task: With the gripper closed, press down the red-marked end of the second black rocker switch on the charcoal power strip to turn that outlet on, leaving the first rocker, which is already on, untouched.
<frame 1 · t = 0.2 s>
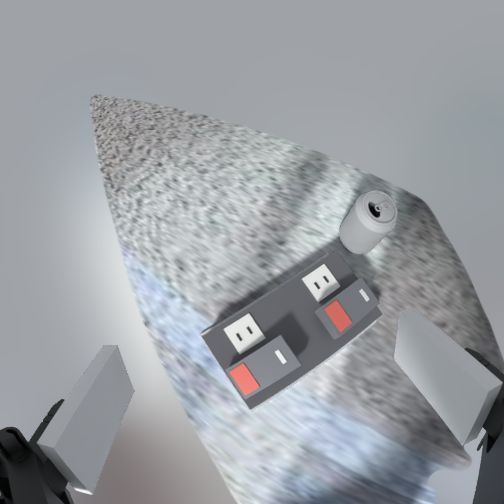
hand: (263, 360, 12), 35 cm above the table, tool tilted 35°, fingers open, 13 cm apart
rocker b: (348, 307, 41), point 7 cm above the table, hinge at -12.0°
rocker a: (263, 367, 38), point 7 cm above the table, hinge at 12.0°
power strip: (292, 330, 47), on the table
can: (355, 237, 53), on the table
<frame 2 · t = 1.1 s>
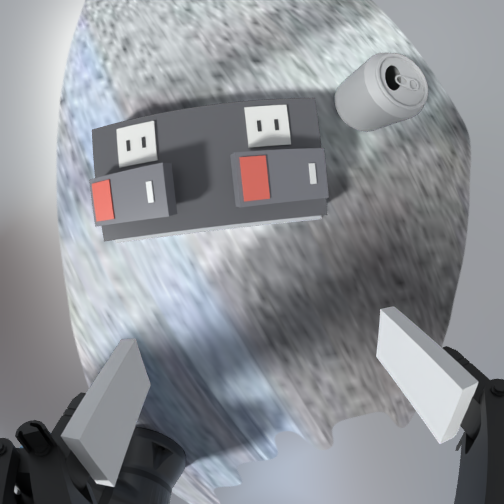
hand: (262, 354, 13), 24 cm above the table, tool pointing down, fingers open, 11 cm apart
rocker b: (281, 175, 28), point 7 cm above the table, hinge at -12.0°
rocker a: (130, 195, 27), point 7 cm above the table, hinge at 12.0°
power strip: (208, 168, 34), on the table
can: (358, 106, 33), on the table
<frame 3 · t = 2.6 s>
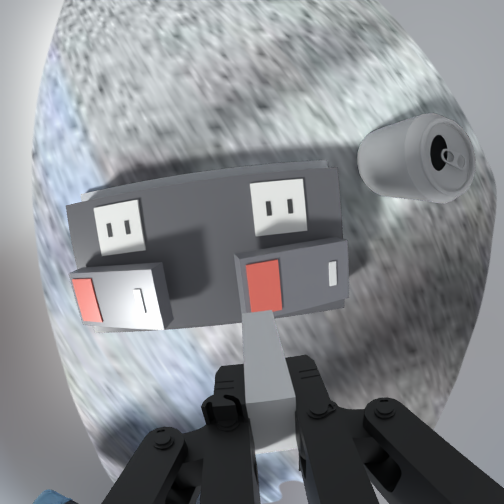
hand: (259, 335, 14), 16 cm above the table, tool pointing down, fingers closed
rocker b: (295, 277, 23), point 7 cm above the table, hinge at -12.0°
rocker a: (117, 296, 23), point 7 cm above the table, hinge at 12.0°
power strip: (206, 246, 30), on the table
can: (382, 163, 29), on the table
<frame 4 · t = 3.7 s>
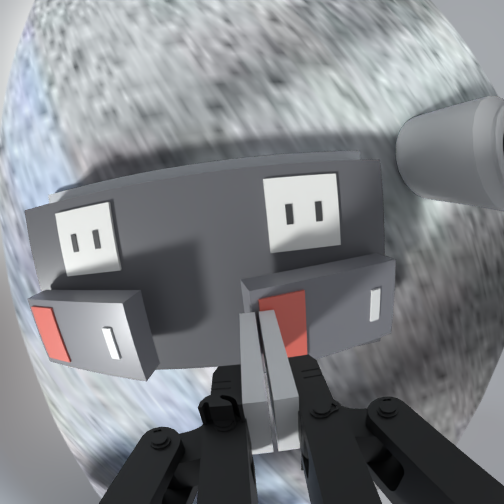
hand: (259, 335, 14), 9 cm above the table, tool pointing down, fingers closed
rocker b: (325, 310, 16), point 7 cm above the table, hinge at -11.6°, touching gripper
rocker a: (86, 332, 16), point 7 cm above the table, hinge at 12.0°
power strip: (204, 261, 23), on the table
can: (423, 157, 22), on the table
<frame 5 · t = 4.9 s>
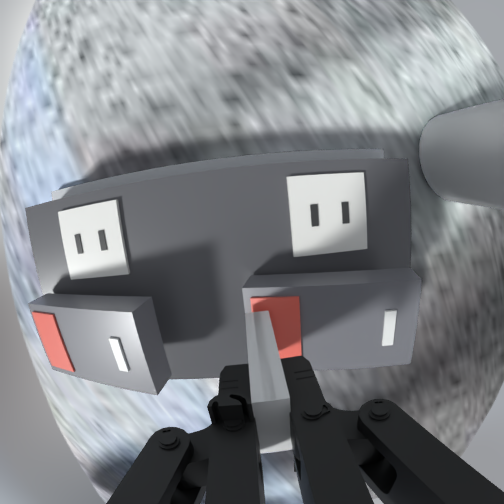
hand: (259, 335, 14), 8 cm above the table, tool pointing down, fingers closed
rocker b: (333, 322, 15), point 7 cm above the table, hinge at 13.8°, touching gripper
rocker a: (91, 340, 15), point 7 cm above the table, hinge at 12.0°
power strip: (218, 263, 22), on the table
can: (444, 158, 20), on the table
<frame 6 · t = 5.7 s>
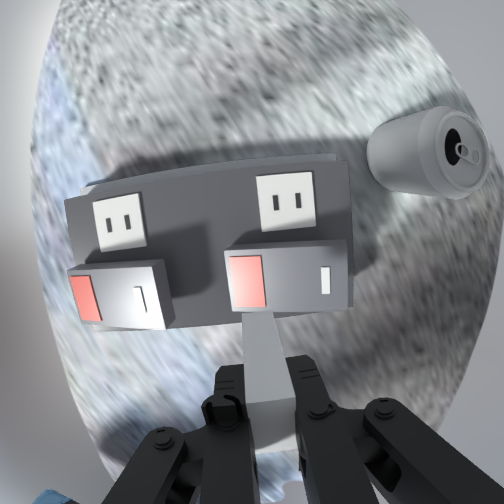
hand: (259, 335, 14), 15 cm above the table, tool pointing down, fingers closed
rocker b: (287, 277, 22), point 7 cm above the table, hinge at 17.4°, touching power strip
rocker a: (117, 294, 22), point 7 cm above the table, hinge at 12.0°
power strip: (210, 241, 29), on the table
can: (392, 157, 28), on the table
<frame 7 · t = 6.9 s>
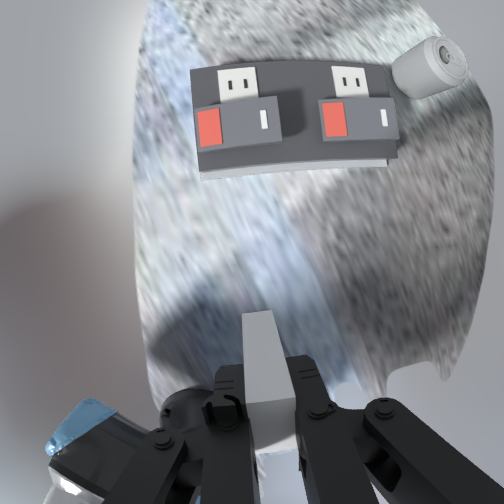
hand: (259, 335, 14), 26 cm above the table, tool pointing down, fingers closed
rocker b: (358, 119, 30), point 7 cm above the table, hinge at 16.5°, touching power strip
rocker a: (238, 124, 29), point 7 cm above the table, hinge at 12.0°
power strip: (292, 116, 36), on the table
can: (408, 79, 35), on the table
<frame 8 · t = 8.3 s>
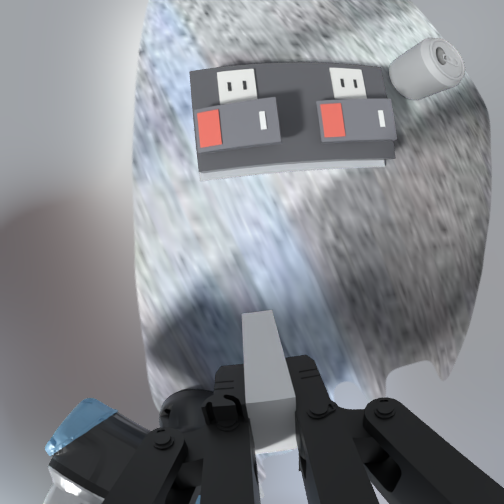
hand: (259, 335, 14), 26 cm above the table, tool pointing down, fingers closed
rocker b: (356, 120, 30), point 7 cm above the table, hinge at 16.2°, touching power strip
rocker a: (237, 125, 30), point 7 cm above the table, hinge at 12.0°
power strip: (291, 117, 37), on the table
can: (405, 80, 36), on the table
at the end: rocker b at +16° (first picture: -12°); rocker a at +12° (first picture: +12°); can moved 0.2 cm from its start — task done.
